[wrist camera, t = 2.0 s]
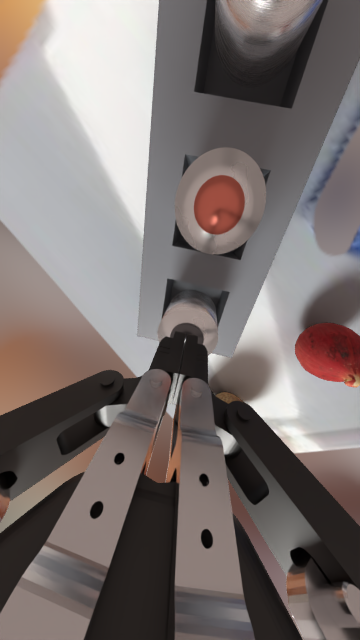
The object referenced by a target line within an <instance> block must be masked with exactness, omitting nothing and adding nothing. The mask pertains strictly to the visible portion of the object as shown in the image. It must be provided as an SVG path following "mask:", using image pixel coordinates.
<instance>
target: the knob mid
mask: <svg viewBox="0 0 360 640" xmlns="http://www.w3.org/2000/svg"><path fill="white" fill-rule="evenodd" d="M265 204H266V186H265V180H264V177H263V174H262V172H261V170H260V168H259V166H258V165H257V163H256V162H255V161H254V160H253V159H252V158H251V157H250V156H249V155H248V154H246V153H245V152H243V151H241V150H238V149H235V148H228V147H224V148H217V149H213V150H211V151H208V152H206V153H204V154H203V155H201V156H200V157H198V158H197V159H196V160H195V161H194V162H193V163H192V164H191V165H190V166H189V167H188V169H187V170H186V171H185V173H184V175H183V177H182V178H181V181H180V183H179V185H178V189H177V192H176V197H175V217H176V222H177V225H178V228H179V230H180V232H181V234H182V236H183V237H184V239H185V240H186V241H187V242H188V243H189V244H190V245H191V246H192V247H193V248H195V249H197V250H199V251H201V252H203V253H207V254H223V253H227V252H230V251H232V250H234V249H236V248H238V247H240V246H241V245H242V244H244V243H245V242H246V241H247V240H248V239H249V238H250V237H251V236H252V234H253V233H254V232H255V230H256V229H257V227H258V225H259V223H260V221H261V219H262V216H263V213H264V209H265Z"/></svg>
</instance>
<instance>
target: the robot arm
mask: <svg viewBox="0 0 360 640" xmlns="http://www.w3.org/2000/svg"><path fill="white" fill-rule="evenodd" d="M185 337H186V340H185ZM184 342H185V344H184ZM197 343H198V336H197V335H193V334H188V333H187V335H186V333H184V332H179V331H175V334H174V337H173V338H171V337H167V336H165V337H164V338H163V339H162V340H161V341H160V343H159V346H158V348H157V351H156V353H155V356H154V358H153V361H152V363H151V366H150V368H149V370H148V371H147V372H145V373H144V375H143V376H141V377H138V378H128V379H124V378H123V376H122V375H121V374H120V373H119V372H117V371H114V370H106V371H102V372H100V373H97V374H95V375H93V376H91V377H88V378H86V379H84V380H81V381H79V382H77V383H74V384H72V385H70V386H68V387H65V388H63V389H61V390H58V391H56V392H54V393H51V394H49V395H47V396H44V397H42V398H40V399H37V400H35V401H33V402H31V403H28V404H26V405H24V406H21V407H19V408H17V409H15V410H12V411H10V412H8V413H5V414H3V415H1V416H0V522H1V520H2V519H3V517H4V516H5V514H6V512H7V509H8V507H9V503H10V501H11V500H13V499H14V498H15V497H17V496H19V495H20V494H22V493H23V492H24V491H26V490H27V489H29V488H30V487H32V486H33V485H35V484H36V483H37V482H39V481H40V480H42V479H43V478H45V477H46V476H48V475H49V474H51V473H52V472H53V471H55V470H56V469H58V468H59V467H60V466H62V465H64V464H65V463H67V462H68V461H70V460H71V459H72V458H74V457H75V456H77V455H78V454H80V453H81V452H83V451H84V450H85V449H87V448H88V447H90V446H91V445H93V444H94V443H96V442H97V441H98V440H100V439H101V438H103V437H104V436H105V437H104V439H103V441H102V443H101V445H100V446H99V448H98V450H97V452H96V454H95V455H94V457H93V459H92V461H91V462H90V464H89V466H88V468H87V469H86V471H85V472H83V473H80V474H78V475H77V476H74V477H73V478H71V479H69V480H68V481H66V482H65V483H63V484H62V485H61V486H59V487H58V488H57V489H55V490H54V491H53V492H52V493H50V494H49V495H48V496H47V497H45V498H44V499H43V500H42V501H40V502H39V503H38V504H36V505H35V506H34V507H33V508H32V509H30V510H29V511H28V512H27V513H25V514H24V515H23V516H21V517H20V518H19V519H17V520H16V521H15V522H14V523H13V524H11V525H10V526H9V527H7V528H6V529H5V530H4V531H3V532H1V533H0V640H303V639H304V640H360V526H359V525H358V524H357V523H356V522H355V521H354V520H353V519H352V517H351V516H350V515H349V514H348V513H347V512H346V511H345V510H344V509H343V507H342V506H341V505H340V504H339V503H338V502H337V501H336V500H335V499H334V498H333V496H332V495H331V494H330V493H329V492H328V491H327V490H326V489H325V488H324V487H323V485H322V484H321V483H320V482H319V481H318V480H317V479H316V478H315V477H314V475H313V474H312V473H311V472H310V471H309V470H308V469H307V468H306V467H305V466H304V465H303V463H302V462H301V461H300V460H299V459H298V458H297V457H296V456H295V455H294V453H293V452H292V451H291V450H290V449H289V448H288V447H287V446H286V445H285V444H284V442H283V441H282V440H281V439H280V438H279V437H278V436H277V435H276V434H275V433H274V431H273V430H272V429H271V428H270V427H269V426H268V425H267V424H266V423H265V422H264V420H263V419H262V418H261V417H260V416H259V415H258V414H257V413H256V412H255V410H254V409H253V408H252V407H251V406H249V405H248V404H246V403H244V402H242V401H232V402H230V403H229V404H228V403H227V402H225V401H223V400H221V399H219V398H218V397H216V396H215V395H214V394H213V393H212V392H211V390H210V387H209V386H208V351H207V349H206V347H205V345H202V344H197ZM183 347H184V348H183ZM175 386H176V387H175ZM174 390H175V392H174ZM173 394H174V397H173ZM172 398H173V403H172V404H173V405H176V409H175V414H174V418H173V425H172V435H171V446H170V456H169V465H168V470H167V476H166V483H157V482H155V481H153V480H152V479H150V478H149V477H147V476H146V473H147V470H148V466H149V462H150V458H151V455H152V452H153V448H154V445H155V442H156V439H157V435H158V432H159V429H160V426H161V423H162V419H163V416H164V415H165V412H166V408H167V404H168V403H169V404H171V402H172ZM227 478H228V480H229V481H230V483H231V484H232V486H233V488H234V490H235V491H236V493H237V495H238V496H239V498H240V500H241V501H242V503H243V504H244V506H245V508H246V509H247V511H248V513H249V515H250V516H251V518H252V520H253V521H254V523H255V525H256V526H257V528H258V530H259V531H260V533H261V535H262V536H263V538H264V540H265V541H266V543H267V545H268V546H269V548H270V550H271V551H272V553H273V555H274V556H275V558H276V560H277V561H278V563H279V565H280V566H281V568H282V569H283V571H284V573H285V575H286V577H287V579H286V590H287V596H288V605H289V609H290V611H291V614H292V616H293V617H294V619H295V622H296V624H297V626H298V628H299V630H300V633H301V635H302V637H303V639H302V637H301V636H300V634H299V632H298V630H297V628H296V626H295V624H294V622H293V620H292V618H291V617H290V615H289V613H288V611H287V609H286V607H285V605H284V603H283V602H282V599H281V598H280V596H279V594H278V592H277V590H276V588H275V586H274V584H273V583H272V581H271V579H270V577H269V575H268V573H267V571H266V569H265V567H264V565H263V563H262V562H261V560H260V558H259V556H258V554H257V552H256V550H255V549H254V546H253V545H252V543H251V541H250V539H249V537H248V535H247V533H246V532H245V530H244V528H243V527H242V525H241V524H240V522H239V521H238V519H237V518H236V516H235V515H234V514H233V513H232V508H231V500H230V493H229V486H228V480H227Z"/></svg>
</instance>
